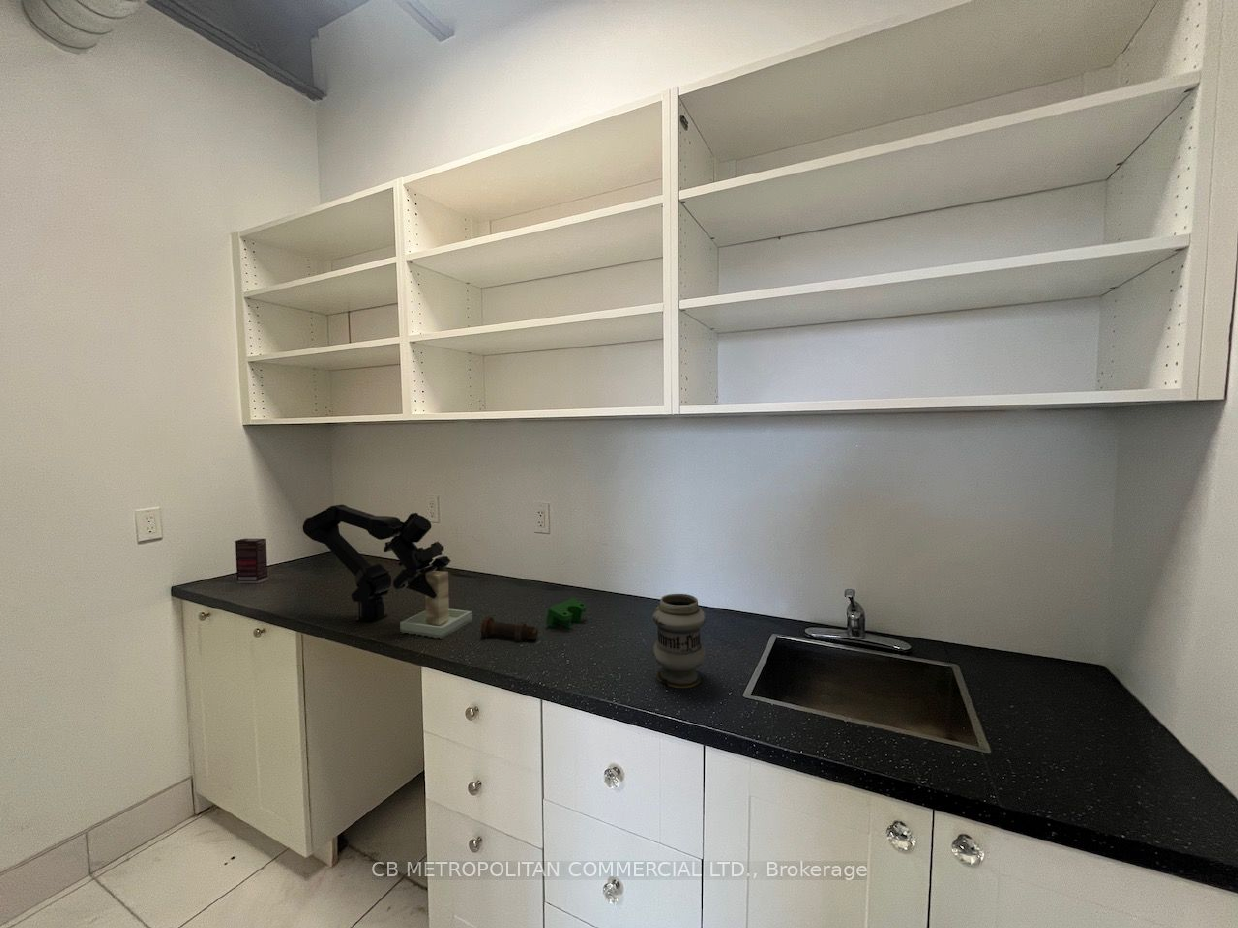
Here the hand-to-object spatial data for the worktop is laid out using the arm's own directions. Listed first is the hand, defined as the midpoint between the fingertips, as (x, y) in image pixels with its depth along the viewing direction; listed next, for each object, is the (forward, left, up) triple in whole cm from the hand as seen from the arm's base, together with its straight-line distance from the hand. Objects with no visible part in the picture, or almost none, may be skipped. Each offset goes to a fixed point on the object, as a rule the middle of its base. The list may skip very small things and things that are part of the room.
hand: (441, 594), depth 138 cm
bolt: (+22, 0, -10) cm, 24 cm away
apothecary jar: (+70, -9, -10) cm, 71 cm away
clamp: (+33, +14, -10) cm, 37 cm away
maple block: (-1, 0, -8) cm, 8 cm away
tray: (-1, 0, -9) cm, 10 cm away
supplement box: (-96, +16, -10) cm, 98 cm away
